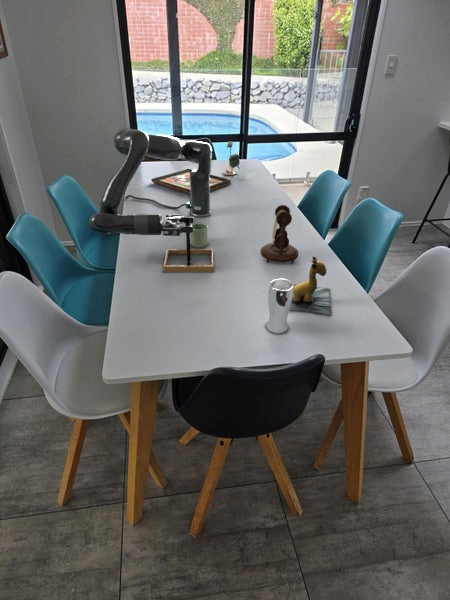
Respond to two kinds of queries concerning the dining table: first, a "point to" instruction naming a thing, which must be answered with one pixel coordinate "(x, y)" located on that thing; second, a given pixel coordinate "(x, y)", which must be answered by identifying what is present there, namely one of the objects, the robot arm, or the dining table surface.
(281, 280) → the beer glass
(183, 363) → the dining table surface
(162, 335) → the dining table surface
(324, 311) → the stuffed giraffe
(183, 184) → the religious icon
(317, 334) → the dining table surface
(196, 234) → the pen cup
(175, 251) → the oak tray
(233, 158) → the plant with pod
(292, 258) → the scroll
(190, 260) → the black rectangular stick
